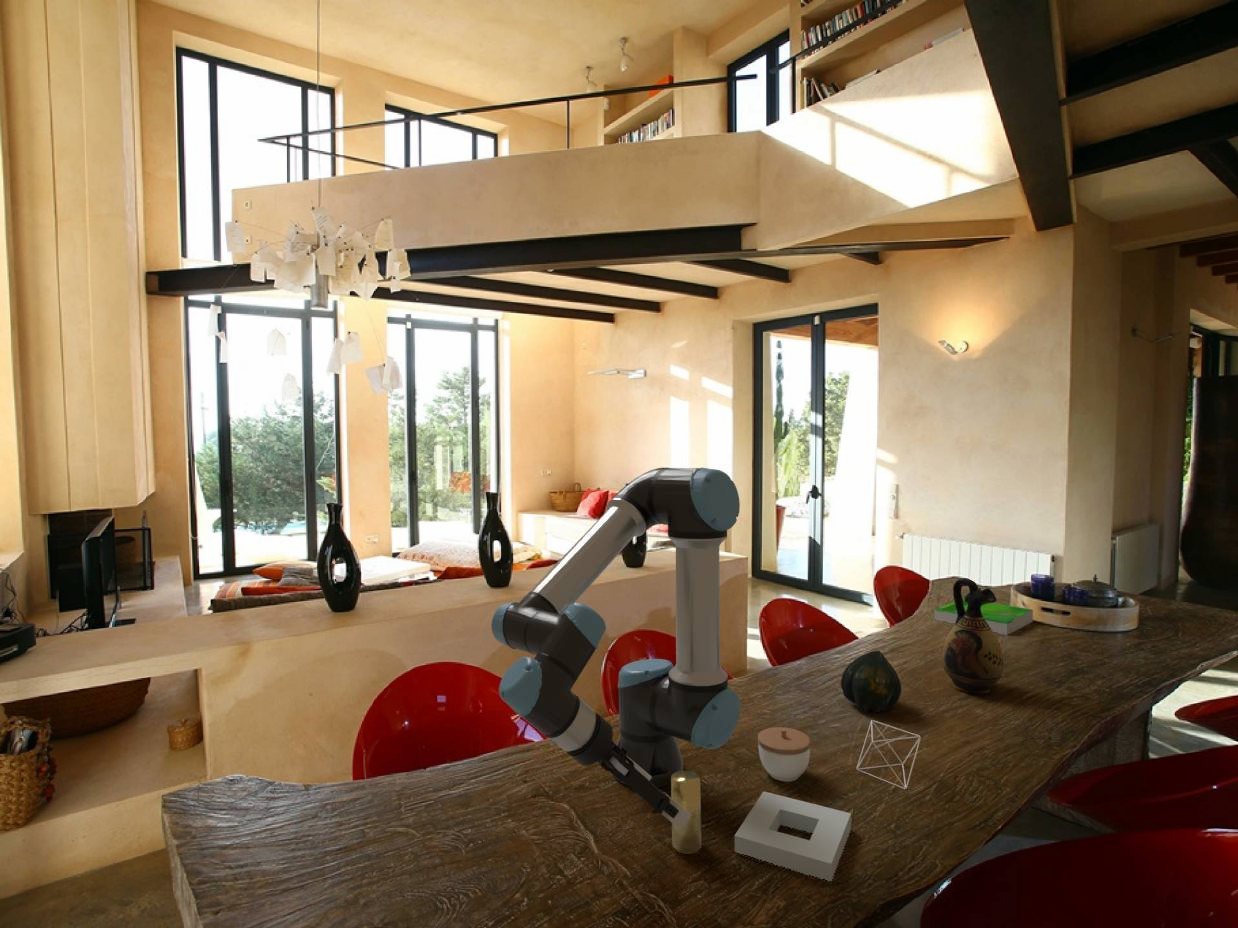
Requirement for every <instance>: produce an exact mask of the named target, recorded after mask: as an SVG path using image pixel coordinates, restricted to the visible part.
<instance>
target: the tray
mask: <svg viewBox="0 0 1238 928" xmlns="http://www.w3.org/2000/svg"><path fill="white" fill-rule="evenodd" d="M962 599H963V605H964V608H965V612H966V610H967V607H968V603H967V602H965V597H964V598H963V597H962ZM1033 610H1034V609H1031V608H1025V607H1018V606H1012V605H1008V604H1001V603H996V602H994V603H988V604H985V605H982V606H981V613H982V615H983V617H984V619H985V620H986V622H987V623H988V624H989V626H990V628H991V629H992V631H993V632H997V633H999V634H998V635H1002V634H1004V636H1009V635H1011V634H1012V633H1014V632H1016V631H1017V630H1020V629H1021V628H1023V627H1026V626H1027V625H1029V624H1031V623H1032V622H1033V621H1034V615H1033V614H1034V611H1033ZM933 612H934V614H933V615H934V619H936V620H940V621H946V622H949V623H955V622H956V619H957V617H958V615H957V610H956V606H955V601H953V602H950V603H948V604H945V605H942V606H940V607H938V608H935V609H934V611H933ZM997 633H996V634H997ZM1008 634H1009V635H1008Z"/></svg>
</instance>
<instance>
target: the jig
mask: <svg viewBox="0 0 1238 928" xmlns="http://www.w3.org/2000/svg"><path fill="white" fill-rule="evenodd" d="M781 825H783V826H782V827H785V826H788V827H790V829H792V828H796V829H798V830H797V831H799V830H804V831H806V832H805V833H807V832H811V833H813V834H811V836H810V839H806V838H802V837H798V836H795V835H791V834H788V833H784V832H780V831H778V830H779V829H780V827H781ZM779 826H780V827H779ZM788 827H787V828H788ZM778 828H779V829H778ZM796 829H795V830H796ZM850 830H852V813H850V812H847V811H843V810H840V809H835V808H832V807H828V806H827V807H826V806H823V805H820V804H815V803H811V802H807V801H803V800H799V799H796V798H791V797H787V796H783V795H779V794H775V793H773V792H767V791H763V792H762V793H761V794H760V795H759V798H758V799H757V800H756V801H755V804H754V805H753V807H752V808H751V810H750V811H749V813H748V814H747V816H746V818H745V819H744V820H743V822H742V823H741V825H740V826H739V828H738V829H737V831H736V833H735V834H734V853H735V852H737V853H740V854H744V855H748V856H751V857H754V858H757V859H759V860H758V861H760V859H761V860H762V861H761V862H763V861H767V862H769V863H768V864H770V863H773V864H774V866H776V865H778V866H777V867H780V866H783V867H785V868H784V869H786V868H789V869H791V870H790V871H793V870H794V871H793V872H796V871H797V873H799V872H800V873H799V874H802V873H803V875H806V876H809V875H811V876H810V877H812V876H814V877H813V878H815V877H818V878H817V879H819V878H820V880H822V879H825V880H828V881H827V882H829V881H832V882H833V880H832V879H834V877H835V874H836V871H837V869H836V868H838V866H839V863H840V861H839V859H840V860H841V858H840V857H842V855H843V853H842V852H844V850H843V849H845V847H846V845H845V844H847V842H846V841H848V839H849V836H850V834H851V831H850ZM849 833H850V834H849ZM847 838H848V839H847ZM844 846H845V847H844ZM737 853H736V854H737ZM740 854H739V855H740ZM841 854H842V855H841ZM744 855H743V856H744ZM757 859H756V860H757ZM838 862H839V863H838ZM773 864H772V865H773ZM837 865H838V866H837ZM783 867H782V868H783ZM789 869H788V870H789ZM835 870H836V871H835ZM834 873H835V874H834ZM833 876H834V877H833ZM825 880H824V881H825Z"/></svg>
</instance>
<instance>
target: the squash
mask: <svg viewBox="0 0 1238 928" xmlns="http://www.w3.org/2000/svg"><path fill="white" fill-rule="evenodd" d="M840 687H841V690H842V695H843V696H844V697H845V698H846V699H847V700H848V701H850V702H851V703H852V704H854V705H856V706H857V708H858V709H859V710H860V711H862V712H865V713H867V712H870V710H872V712H874V713H880V712H882V711H883V710H889V709H891V708H893V707H894V706H895V705H896V704H897V702H898V701H899V700H900V697H901V694H902V684H901V680H900V678H899V675H898V673H897V672H896V670H895V669H894V667H893V665H891V663H890V662H889V661H888V659H887V658H886V657H885V655H884V654H883V653H882V652H881V650H873V651H870V652H867V653H865V654H862V655H860V656H858V657H857V658H855V659H854V660H853V661H851V662H850V663H849V664H848V665H847V666H846V667H845V669H844V670H843V672H842V676H841V680H840Z"/></svg>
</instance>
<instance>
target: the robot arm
mask: <svg viewBox="0 0 1238 928" xmlns="http://www.w3.org/2000/svg"><path fill="white" fill-rule="evenodd" d="M739 496H740V495H739V492H738V488H737V486H736V484H735V483H734V481H733V480H732V479H731V477H730V475H728V474H727V473H726V472H725V471H723V470H719V469H713V468H707V467H691V468H690V467H657V468H654V469H651V470H648V471H646V472H644V473H642V474H640V475H639V476H637V477H635V478H634V479H633V480H631V481H630V482H628V483H627V484H626V485H625V486H623V487H622V488H621V489H620V490H619V491H618V492H617V493H615V495H614V496H613V497H612V498H611V499H610V500H608V502H607V504H606V511H605V512H604V513H603V514H602V515H601V516H600V518H598V520H596V521H595V523H594V524H593V525H591V527H590V528H589V529H588V530H587V531H586V532H585V533H584V534H583V535H582V536H581V537H580V539H578V540H577V541H576V542H575V543H574V544H573V546H572V547H571V548H570V549H569V550H568V551H566V553H565V554H564V555H562V557H561V558H560V559H559V560H558V561H557V562H556V563H555V564H554V566H553V567H552V568H550V569H549V571H547V572H546V574H545V575H544V576H543V577H542V578H541V579H540V580H539V581H538V582H537V583H536V584H535V585H534V586H533V588H532V589H530V590H529V592H528V593H527V594H526V595H525V596H524V597H523V598H522V599H521V600H520V601H519V602H517V601H515V602H514V601H513V602H506V603H504V604H501V605H500V606H499V607H498V608H497V609H496V611H495V612H494V614H493V615H492V619H491V632H492V635H493V636H494V637H493V638H494V639H495V640H496V641H498V642H499V644H500V643H501V644H502V645H504V646H507V647H509V648H510V649H513V650H518V651H522V652H525V653H529V654H531V655H533V656H535V657H534V658H532V656H522V657H521V658H518V659H517V660H515V661H514V662H513V664H512V665H511V666H510V667H509V668H508V669H506V671H505V673H504V674H503V676H502V678H501V680H500V683H499V685H498V687H499V688H498V693H499V697H500V698H501V700H502V701H503V702H504V703H506V704H507V705H508V706H509V707H510V709H512V710H513V711H514V712H515V713H516V715H518V716H520V717H522V718H523V720H525V721H526V722H527V723H528V724H530V725H532V727H534V729H536V730H538V731H539V732H540V733H542V734H543V735H545V737H546V738H548V739H549V741H548V744H549V745H550V747H551V746H552V747H553V746H555V745H557V746H558V747H559V748H560V749H562V750H563V751H564V752H566V753H567V754H568V755H569V756H570V757H571V758H573V759H574V760H575V762H578V763H579V764H580V765H582V766H585V767H589V766H591V765H595V764H596V763H598V764H599V765H600V766H601V768H603V769H604V770H605V771H607V772H609V773H611V774H612V775H613V777H614V778H615V779H616V780H617V781H618V782H620V783H622V784H623V785H626V786H628V788H630V789H631V790H633V791H634V792H635V794H637V795H639V797H641V798H642V800H644V801H645V802H646V803H647V804H648V805H650V806H651V807H652V808H653V810H652V811H651V813H652V814H653V815H656V814H659V815H662V816H663V817H665V818H666V819H667V820H669V822H671V824H672V823H673V824H674V825H676V826H677V827H678V828H679V829H681V830H682V829H683V827H684V826H685V824H686V823H687V822H688V820H689V819H690V817H691V816H692V815H691V814H690V813H688V812H687V811H686V810H685V809H684V808H682V807H681V806H680V805H679V804H678V803H676V802H675V801H674V800H673V799H672V797H671V796H669V795H668V794H667V793H666V792H665V791H662V790H661V789H660V788H664V787H666V786H670V785H671V776H672V775H673V774H674V773H675V772H678V771H684V759H683V756H682V754H681V750H680V748H679V745H678V742H677V739H680V740H681V741H683V742H684V741H685V742H687V743H690V744H692V745H693V746H695V747H702V748H704V749H708V750H715V749H719V748H720V747H722V746H724V745H725V744H726V743H727V742H728V741H729V740H730V739H731V737H732V735H733V733H734V732H735V730H736V728H737V726H738V723H739V719H740V715H741V700H740V697H739V695H738V693H737V692H735V691H734V690H732V689H731V688H728V687H729V685H728V684H729V681H728V680H729V677H728V675H729V674H728V672H727V671H726V670H725V669H724V668H722V666H721V655H720V654H721V648H720V647H721V641H720V640H721V636H720V635H721V634H720V633H721V630H720V629H721V626H720V625H721V624H720V622H721V620H720V619H721V618H720V617H721V616H720V615H721V614H720V613H721V612H720V611H721V610H720V608H721V607H720V605H721V604H720V601H721V600H720V595H721V594H720V591H721V590H720V547H721V544H722V543H723V542H724V541H725V540H726V539H727V538H728V530H730V529H732V528H733V527H734V525H735V524H737V521H738V520H737V518H738V517H739V515H740V505H741V504H740V503H741V502H740V497H739ZM657 525H663V526H664V525H665V526H666V525H667V538H668V539H669V540H670V541H671V542H672V543H673V544H674V545H675V648H676V649H675V650H676V651H675V655H676V656H675V657H676V658H675V659H676V660H675V663H676V664H675V665H673V662H672V661H670V660H668V659H662V658H649V659H641V660H635V661H633V662H629V663H627V664H625V665H624V666H622V667H621V668H620V670H619V673H618V684H617V690H618V691H617V693H618V695H617V698H618V718H619V719H618V720H619V721H618V723H619V736H618V738H617V739H618V740H617V742H616V743H615V742H614V740H613V738H614V737H613V736H614V731H613V727H612V725H611V724H610V723H609V722H608V721H607V720H606V719H604V717H602V716H601V715H600V714H598V713H597V712H595V710H594V708H592V707H591V706H590V705H589V704H588V703H586V702H585V701H584V700H583V699H581V698H580V696H578V695H576V694H575V693H574V692H573V691H572V689H573V687H574V685H575V684H576V682H577V680H578V678H579V677H580V675H581V674H582V672H583V670H584V669H585V668H586V665H587V664H588V663H589V661H590V660H591V657H592V656H593V654H594V653H595V651H596V650H597V649H598V647H599V644H600V642H601V640H602V638H603V636H604V634H605V632H606V631H607V624H606V621H605V620H604V618H603V617H602V616H601V615H600V614H599V613H598V612H597V611H596V610H594V609H593V608H591V607H590V606H588V605H586V604H583V603H581V602H578V600H579V599H580V598H581V597H582V595H584V594H585V592H587V590H588V589H589V588H590V587H591V586H592V585H593V583H594V582H595V581H596V580H597V579H598V578H599V577H600V575H601V574H602V573H603V572H604V571H605V570H606V569H607V568H608V566H609V565H610V564H611V563H612V562H613V560H615V558H617V556H618V555H619V554H620V553H621V552H622V551H623V549H625V548H626V547H627V545H628V544H629V543H631V541H632V539H634V537H636V538H637V537H641V536H643V535H644V534H645V533H646V531H648V529H650V528H652V527H653V526H657ZM676 738H677V739H676Z"/></svg>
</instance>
